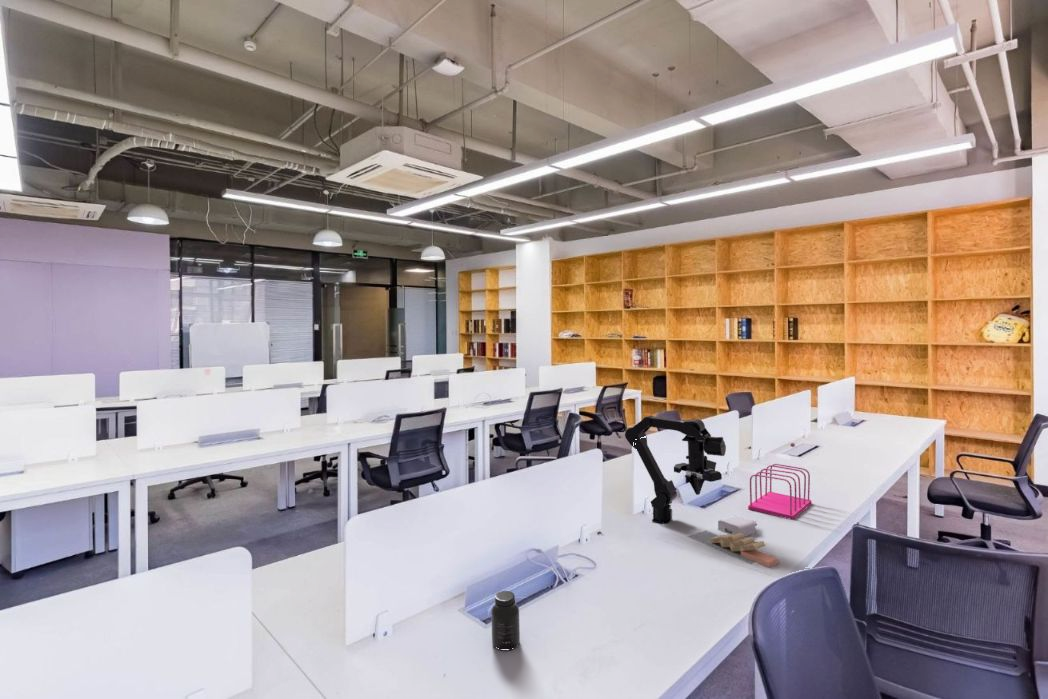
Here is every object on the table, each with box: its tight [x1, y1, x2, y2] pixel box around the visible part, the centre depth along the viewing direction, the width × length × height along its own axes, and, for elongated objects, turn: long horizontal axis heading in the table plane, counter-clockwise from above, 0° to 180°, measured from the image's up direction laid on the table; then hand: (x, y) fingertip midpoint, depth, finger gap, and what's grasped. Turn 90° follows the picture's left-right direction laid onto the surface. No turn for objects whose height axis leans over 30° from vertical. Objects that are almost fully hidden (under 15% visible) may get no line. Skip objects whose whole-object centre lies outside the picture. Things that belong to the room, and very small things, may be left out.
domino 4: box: [741, 549, 779, 568], centre depth 169 cm, size 2×5×10 cm
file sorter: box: [747, 463, 812, 520], centre depth 219 cm, size 17×25×16 cm
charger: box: [717, 515, 758, 538], centre depth 194 cm, size 5×9×15 cm
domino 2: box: [720, 536, 755, 547], centre depth 176 cm, size 2×5×10 cm
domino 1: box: [711, 533, 745, 543], centre depth 180 cm, size 2×5×10 cm
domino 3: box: [730, 540, 766, 552], centre depth 173 cm, size 2×5×10 cm
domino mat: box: [686, 530, 756, 565], centre depth 180 cm, size 26×10×1 cm, turn 31°
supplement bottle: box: [490, 590, 521, 650], centre depth 127 cm, size 7×7×12 cm
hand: (697, 494), depth 196 cm, fingers closed
